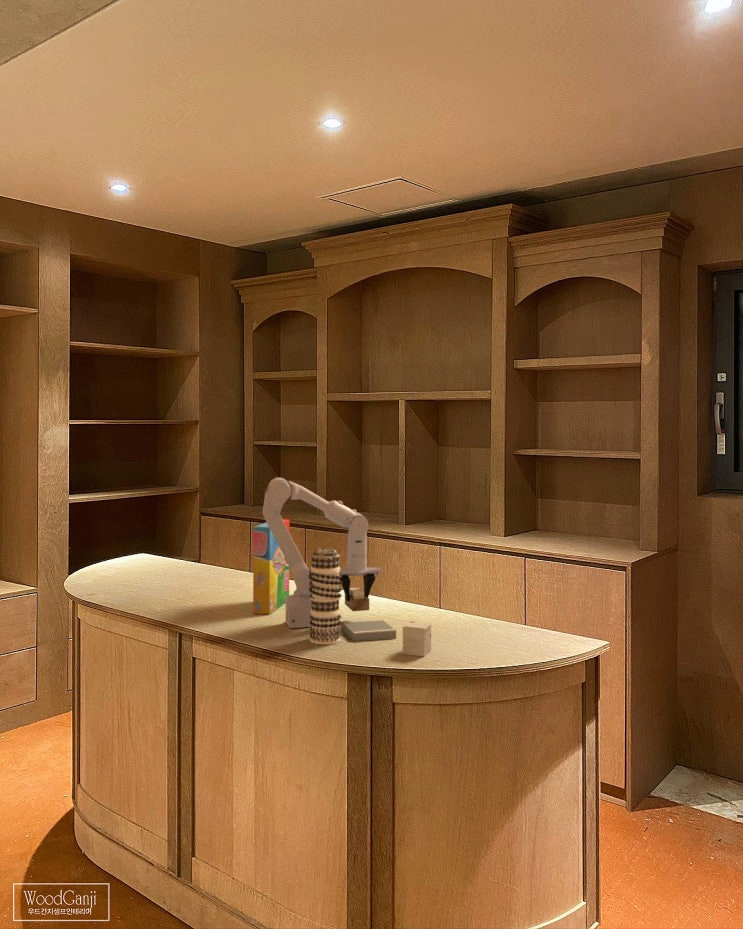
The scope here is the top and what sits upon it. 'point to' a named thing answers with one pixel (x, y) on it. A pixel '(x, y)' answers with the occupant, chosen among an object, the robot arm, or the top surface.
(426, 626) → the skincare box
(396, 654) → the top surface
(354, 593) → the beige block
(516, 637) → the top surface
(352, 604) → the brown wooden tray
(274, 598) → the game box
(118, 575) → the top surface
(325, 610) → the decorative candle
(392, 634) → the dock
